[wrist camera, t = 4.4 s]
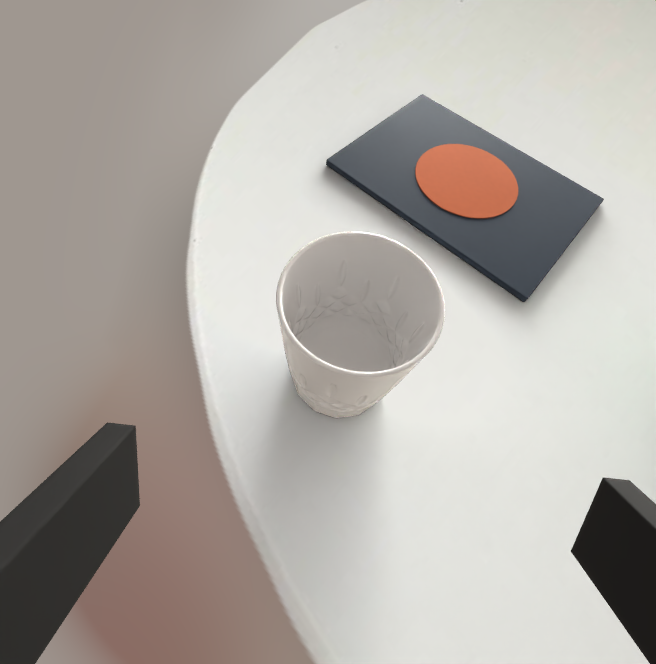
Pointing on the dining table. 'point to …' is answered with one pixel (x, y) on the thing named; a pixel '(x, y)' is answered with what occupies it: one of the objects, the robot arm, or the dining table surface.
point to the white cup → (356, 319)
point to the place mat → (469, 192)
